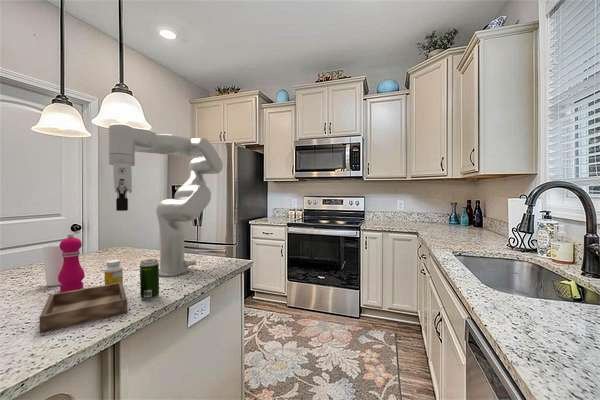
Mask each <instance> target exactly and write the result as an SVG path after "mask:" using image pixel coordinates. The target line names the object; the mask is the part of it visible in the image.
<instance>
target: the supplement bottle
mask: <svg viewBox="0 0 600 400" xmlns="http://www.w3.org/2000/svg"><path fill="white" fill-rule="evenodd" d="M120 264H121V259H111V260H108V261H106V266H107V267H105V268H104V285H109V284H114V283H120V282H122V283H123V284H124V275H123V273H124V272H123V266H122V265H120Z"/></svg>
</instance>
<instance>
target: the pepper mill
mask: <svg viewBox="0 0 600 400" xmlns="http://www.w3.org/2000/svg"><path fill="white" fill-rule="evenodd" d="M59 243H60V246H59V247H60V249H61V250H62V251H63V252H62V257H63V259H64V261H63V267H62V269H61V271H60V273H59V276H58V281H59V283H61V284H62V285H59V291H60V293H62V292H67V291H73V290H79V289H84V282H83V280H84V279H85V277H86V275H85V271H84V268H83V267H82V266H81V264H80V259H79V258H80V255H81V250H80V249H81V248H82V246H83V243H82V241H81V239H80V238H78V237H75V235H74V233H72V232H71V233H67V238H64V239H62V240H61V241H60V242H59Z"/></svg>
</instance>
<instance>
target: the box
mask: <svg viewBox="0 0 600 400" xmlns="http://www.w3.org/2000/svg"><path fill="white" fill-rule="evenodd" d="M40 313H41V314H39V333H40V334H42V333H47V332H51V331H54V330H55V331H56V330H59V329H63V328H68V327H73V326H76V325H77V326H78V325H82V324H84V323H86V324H87V323H89V322H94V321H99V320H102V319H107V318H108V319H109V318H111V317H116V316H121V315H125V314H127V313H128V297H127V295H126V291H125V287H124V282H123V283H122V282H120V283H114V284H109V285H105V284H104V285H103V284H102V285H97V286H93V287H87V288H82V289H79V290H73V291H67V292H57V293H56V292H55V293H51V294H49V296H48V298H47V300H46V302H45V304H44V306H43V308H42V311H41V312H40Z"/></svg>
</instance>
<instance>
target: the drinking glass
mask: <svg viewBox="0 0 600 400" xmlns="http://www.w3.org/2000/svg"><path fill="white" fill-rule="evenodd" d="M59 246H60V242H57V243H56V242H55V243H49V244H44V245H43V246H42V258H43V266H44V271H45V273H44V274H45V278H46V279H45V281H46V286H47V287H57V286H61V285H62V284H61V283H59V281H58V276H59V273H60V271H61V269H62V267H63V261H64V259H63V257H62V252H63V251H62V250H61V249H60V247H59Z"/></svg>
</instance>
